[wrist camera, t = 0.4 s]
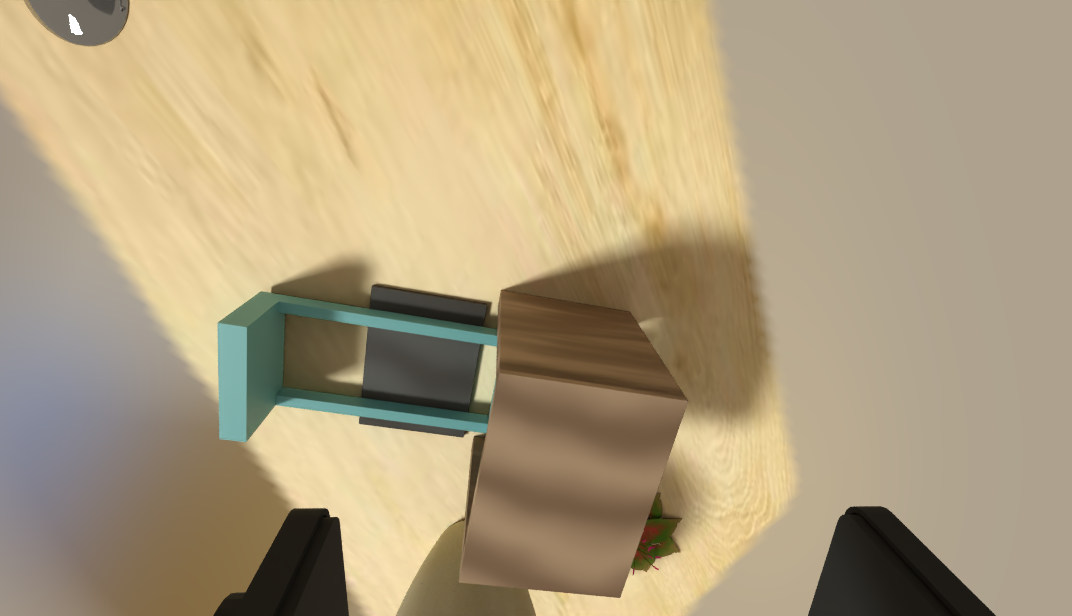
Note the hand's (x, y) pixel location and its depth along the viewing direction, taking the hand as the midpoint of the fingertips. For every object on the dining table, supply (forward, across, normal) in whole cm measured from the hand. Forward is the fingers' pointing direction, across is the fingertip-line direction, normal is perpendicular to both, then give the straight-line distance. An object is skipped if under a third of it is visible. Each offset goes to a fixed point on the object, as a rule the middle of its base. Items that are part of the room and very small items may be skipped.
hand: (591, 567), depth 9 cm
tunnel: (+36, +2, +15) cm, 39 cm away
